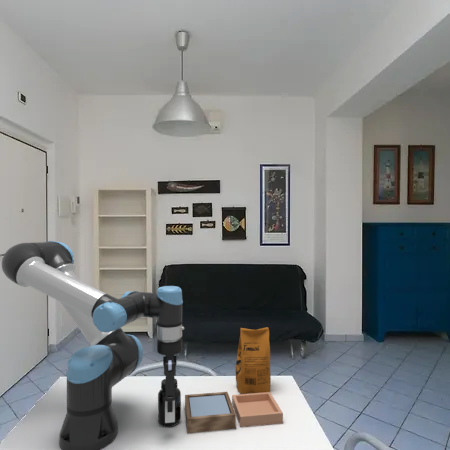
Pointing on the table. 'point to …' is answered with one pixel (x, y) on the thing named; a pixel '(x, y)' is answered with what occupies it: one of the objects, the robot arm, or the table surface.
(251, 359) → the coffee package
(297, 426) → the table surface
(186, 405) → the wooden frame
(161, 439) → the table surface
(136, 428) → the table surface
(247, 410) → the tray
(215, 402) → the pad
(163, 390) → the supplement bottle
